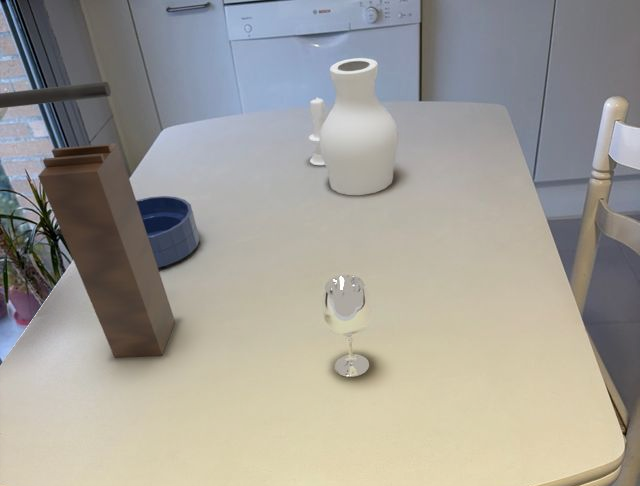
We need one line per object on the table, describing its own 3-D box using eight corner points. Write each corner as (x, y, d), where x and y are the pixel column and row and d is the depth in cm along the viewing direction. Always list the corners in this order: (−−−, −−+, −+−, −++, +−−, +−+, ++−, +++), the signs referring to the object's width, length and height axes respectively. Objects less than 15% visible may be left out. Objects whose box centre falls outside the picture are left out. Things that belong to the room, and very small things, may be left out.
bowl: (101, 275, 108) (88, 242, 103) (127, 230, 118) (116, 199, 114) (189, 270, 106) (180, 236, 101) (207, 225, 116) (199, 193, 112)
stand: (114, 357, 91) (34, 168, 72) (130, 324, 96) (60, 140, 78) (162, 355, 90) (94, 163, 71) (175, 321, 95) (115, 135, 77)
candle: (314, 154, 134) (307, 92, 125) (339, 154, 132) (333, 92, 124) (306, 165, 130) (299, 102, 122) (332, 166, 129) (326, 102, 120)
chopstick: (-46, 114, 80) (-52, 100, 79) (-39, 110, 81) (-45, 97, 80) (107, 97, 77) (103, 83, 76) (112, 94, 79) (107, 79, 78)
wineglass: (382, 359, 84) (378, 278, 75) (359, 385, 81) (352, 304, 72) (344, 347, 86) (336, 268, 78) (321, 372, 83) (310, 292, 75)
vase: (313, 176, 126) (299, 64, 112) (379, 158, 129) (374, 46, 115) (340, 205, 116) (329, 85, 102) (412, 184, 119) (411, 65, 105)
